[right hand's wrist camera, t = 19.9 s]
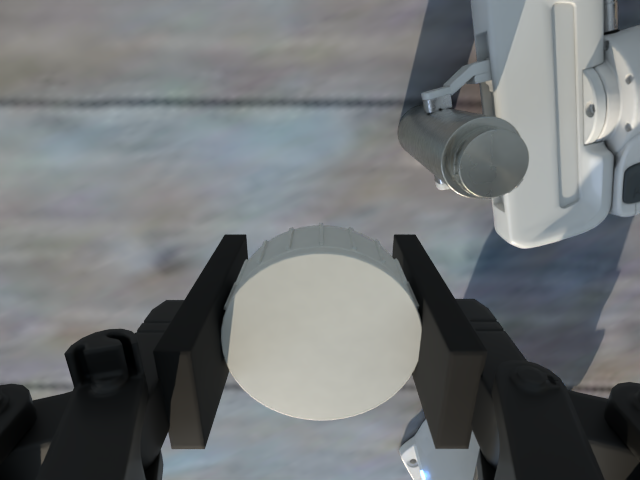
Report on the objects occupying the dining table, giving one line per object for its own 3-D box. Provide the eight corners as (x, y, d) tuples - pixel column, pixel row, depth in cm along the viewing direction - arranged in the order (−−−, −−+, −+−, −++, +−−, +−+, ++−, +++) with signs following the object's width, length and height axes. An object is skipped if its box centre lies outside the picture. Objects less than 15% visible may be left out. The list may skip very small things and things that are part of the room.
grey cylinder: (387, 138, 37) (431, 177, 21) (418, 93, 35) (490, 100, 20) (427, 165, 38) (497, 222, 22) (459, 123, 36) (558, 151, 21)
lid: (435, 336, 13) (455, 380, 11) (287, 397, 14) (282, 446, 12) (364, 190, 11) (373, 212, 9) (198, 271, 12) (177, 306, 10)
